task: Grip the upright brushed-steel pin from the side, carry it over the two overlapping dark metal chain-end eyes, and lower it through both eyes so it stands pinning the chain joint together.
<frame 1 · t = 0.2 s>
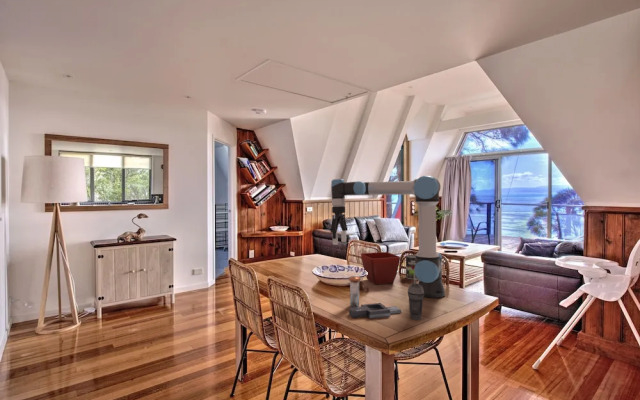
hand: (339, 243, 192), 27 cm above the table, tool pointing down, fingers open, 13 cm apart
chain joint: (375, 313, 156), on the table
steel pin: (354, 306, 166), on the table
plant pot: (379, 281, 212), on the table
beverage cup: (415, 318, 150), on the table
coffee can: (413, 278, 221), on the table
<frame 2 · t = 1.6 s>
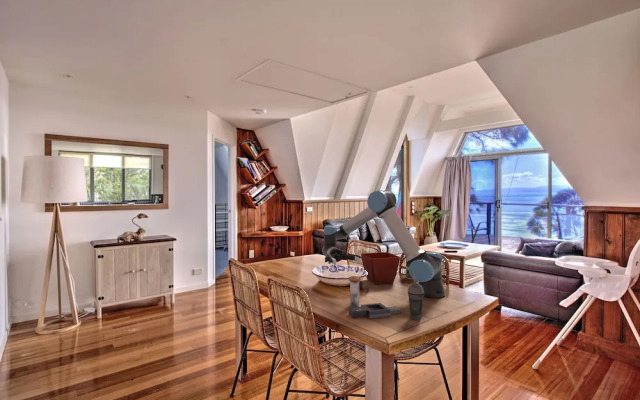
hand: (347, 261, 175), 20 cm above the table, tool horizontal, fingers open, 13 cm apart
nothing on the table moved.
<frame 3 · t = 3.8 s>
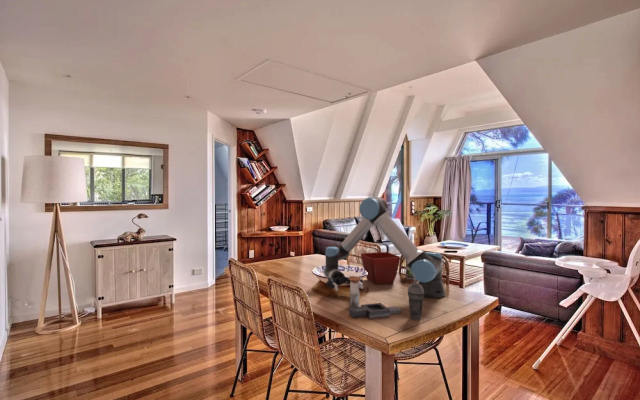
hand: (349, 287, 171), 8 cm above the table, tool horizontal, fingers open, 13 cm apart
nothing on the table moved.
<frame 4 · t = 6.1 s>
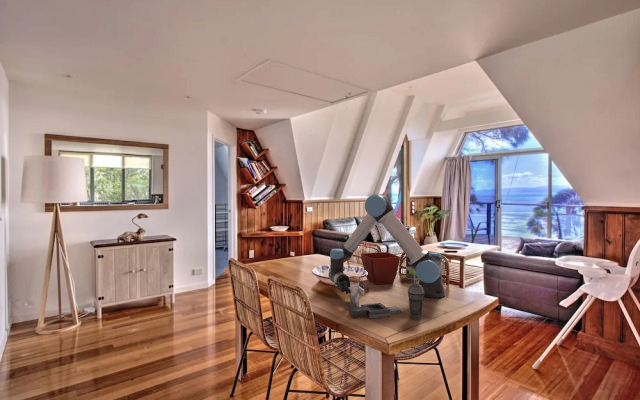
hand: (358, 293, 161), 8 cm above the table, tool horizontal, fingers closed on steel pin, 4 cm apart
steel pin: (354, 306, 166), on the table, touching gripper
everything else where it was.
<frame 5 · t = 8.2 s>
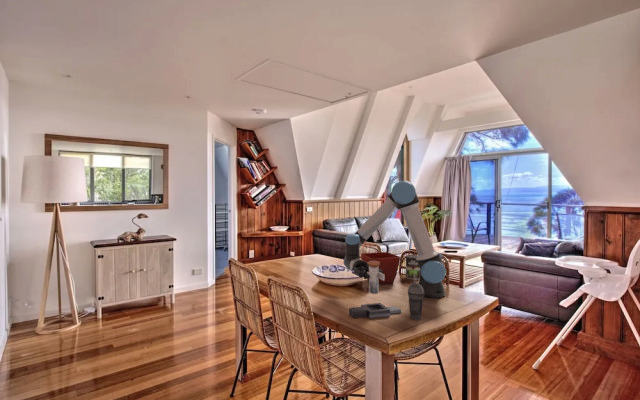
hand: (378, 278, 151), 18 cm above the table, tool horizontal, fingers closed on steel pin, 4 cm apart
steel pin: (373, 292, 156), point 10 cm above the table, touching gripper
everything else where it was.
when the fingers open (9 cm above the table, at t = 10.6 s): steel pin stays where it is, resting in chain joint.
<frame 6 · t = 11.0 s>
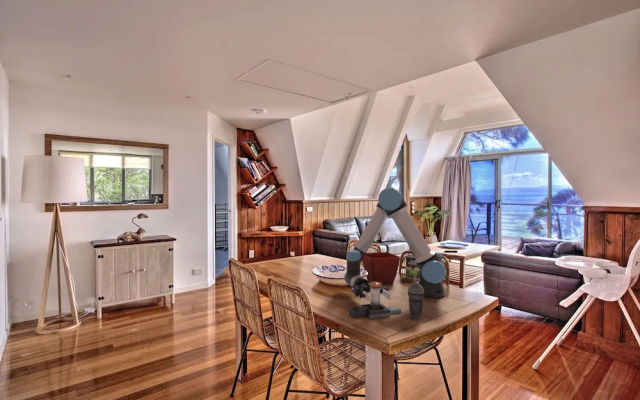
hand: (379, 297, 151), 9 cm above the table, tool horizontal, fingers open, 9 cm apart
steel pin: (375, 313, 156), resting in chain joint
everything else where it was.
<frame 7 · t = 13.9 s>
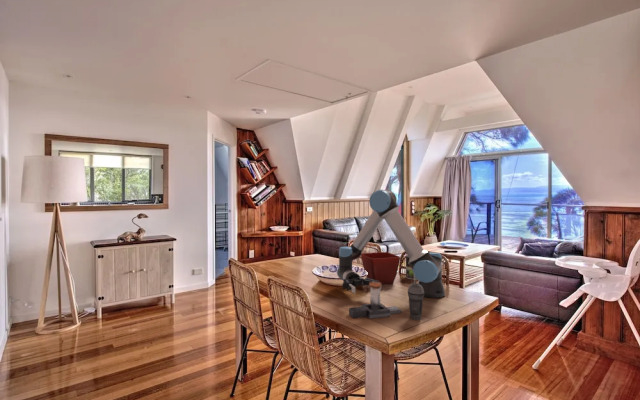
hand: (367, 289, 164), 9 cm above the table, tool horizontal, fingers open, 13 cm apart
nothing on the table moved.
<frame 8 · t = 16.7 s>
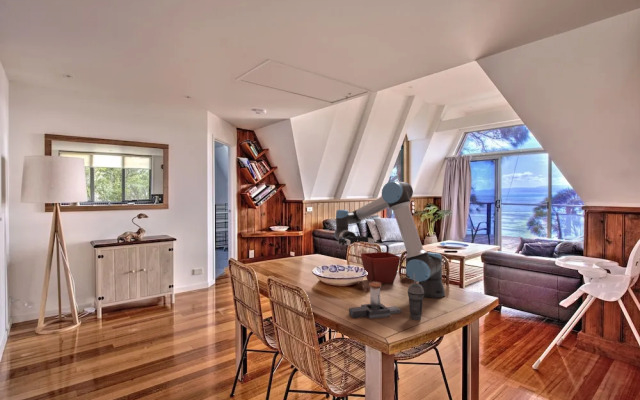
hand: (361, 242, 176), 30 cm above the table, tool horizontal, fingers open, 13 cm apart
nothing on the table moved.
at the end: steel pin 0.0 cm off-centre on the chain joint, point 0.0 cm above the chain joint's base; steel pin tilted 0°; the gripper is holding nothing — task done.
